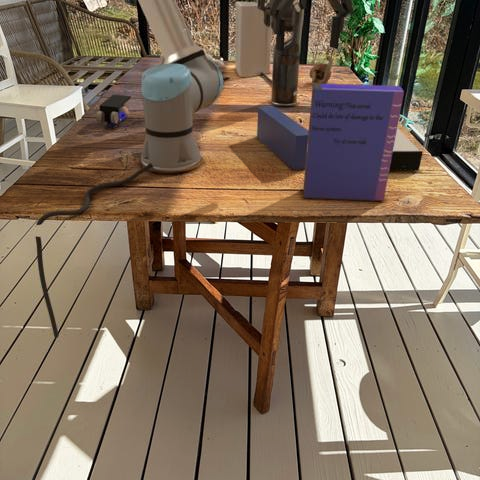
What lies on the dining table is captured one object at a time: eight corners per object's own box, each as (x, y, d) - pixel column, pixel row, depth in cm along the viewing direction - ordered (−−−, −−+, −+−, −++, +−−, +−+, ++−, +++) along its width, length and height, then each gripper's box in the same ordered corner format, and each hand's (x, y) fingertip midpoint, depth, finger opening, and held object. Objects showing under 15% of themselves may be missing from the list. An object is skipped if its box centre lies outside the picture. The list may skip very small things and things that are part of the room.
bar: (310, 168, 122) (313, 134, 117) (293, 170, 120) (296, 136, 116) (271, 135, 143) (272, 105, 138) (256, 136, 142) (257, 106, 137)
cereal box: (379, 191, 109) (398, 84, 97) (383, 201, 105) (404, 90, 93) (303, 188, 110) (312, 82, 98) (304, 197, 106) (314, 88, 94)
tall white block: (273, 76, 210) (276, 6, 196) (239, 77, 209) (240, 6, 194) (266, 67, 226) (268, 2, 212) (235, 67, 225) (235, 1, 210)
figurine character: (119, 135, 145) (134, 115, 156) (115, 111, 140) (131, 93, 152) (98, 134, 145) (114, 114, 157) (93, 110, 141) (110, 92, 152)
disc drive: (349, 170, 120) (352, 151, 117) (332, 140, 139) (334, 123, 137) (418, 171, 120) (423, 152, 118) (392, 140, 140) (395, 124, 137)
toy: (179, 75, 210) (178, 59, 206) (155, 65, 227) (154, 49, 224) (226, 69, 222) (226, 53, 218) (199, 60, 239) (199, 45, 235)
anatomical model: (319, 90, 206) (319, 91, 192) (304, 75, 205) (303, 75, 191) (340, 67, 202) (342, 66, 188) (325, 52, 201) (326, 50, 187)
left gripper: (359, -60, 104) (347, 44, 115) (252, -62, 97) (250, 48, 108) (378, -61, 98) (363, 49, 109) (266, -63, 91) (262, 54, 102)
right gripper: (301, -38, 137) (297, 23, 145) (255, -39, 133) (253, 25, 141) (313, -38, 131) (308, 27, 139) (265, -38, 127) (263, 28, 135)
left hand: (307, 49), depth 109 cm, fingers open, 13 cm apart
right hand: (280, 26), depth 140 cm, fingers open, 8 cm apart
